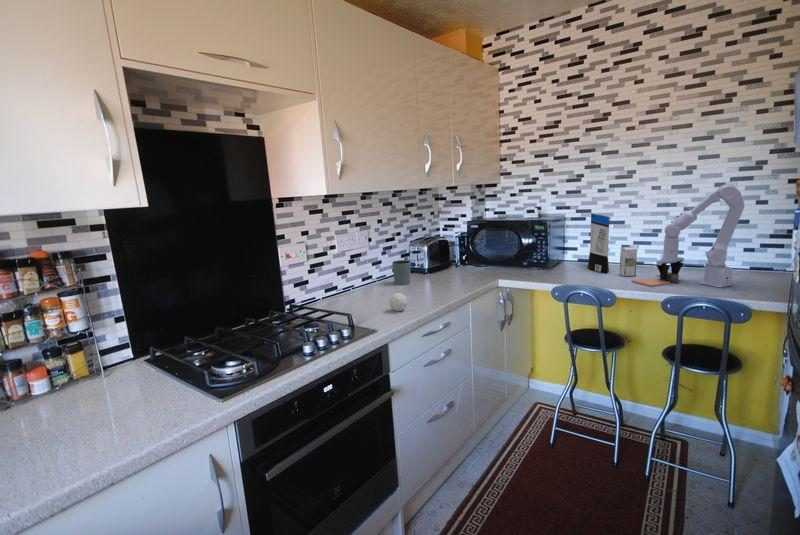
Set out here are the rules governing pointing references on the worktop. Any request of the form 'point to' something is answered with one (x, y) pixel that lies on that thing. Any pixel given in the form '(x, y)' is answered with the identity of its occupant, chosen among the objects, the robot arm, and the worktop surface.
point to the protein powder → (599, 244)
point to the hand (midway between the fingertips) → (668, 278)
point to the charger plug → (670, 277)
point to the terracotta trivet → (650, 282)
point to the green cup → (401, 272)
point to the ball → (398, 302)
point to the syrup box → (628, 261)
